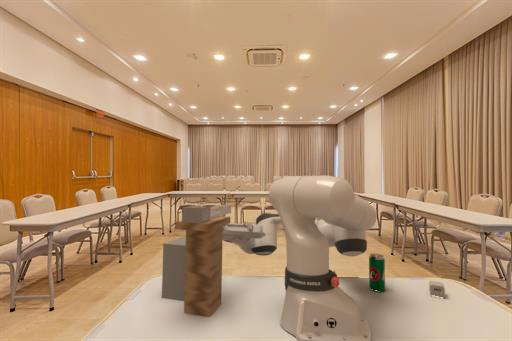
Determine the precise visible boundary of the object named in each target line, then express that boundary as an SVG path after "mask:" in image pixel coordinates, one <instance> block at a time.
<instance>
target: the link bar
mask: <svg viewBox="0 0 512 341" xmlns="http://www.w3.org/2000/svg"><path fill="white" fill-rule="evenodd" d="M181 209H182V211H181V213H182V214H181V220H182V222H187V223H205V222H208V221H210V219H213V218H216V217H219V216H225V215H226V216H227V215H229V214H231V213H232V204H218V205H214V206H203V205H202V206H201V205H188V206H183V207H182V208H181Z"/></svg>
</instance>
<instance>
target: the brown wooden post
mask: <svg viewBox="0 0 512 341" xmlns="http://www.w3.org/2000/svg"><path fill="white" fill-rule="evenodd" d="M229 223H231V216H228V215H226V216H225V215H223V216H219V217H216V218H213V219H210V221H208V222H205V223H187V222H182V219H181V220H178V221H175V222H174V224H175V225H174V226H175V230H178V231H179V230H180V231H181V230H183V231H185V236H186V251H185V292H184V301H183V314H187V315H192V316H193V315H194V316H200V317H201V316H202V317H208V318H210V317H212V316H213V314H214V313H215V312H216V311H217V310H218V309H219V308H220V307H221V305H222V296H223V294H222V290H223V289H222V286H223V285H222V284H223V283H222V282H223V278H222V277H223V240H222V238H223V226H224V225H226V224H229Z"/></svg>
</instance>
